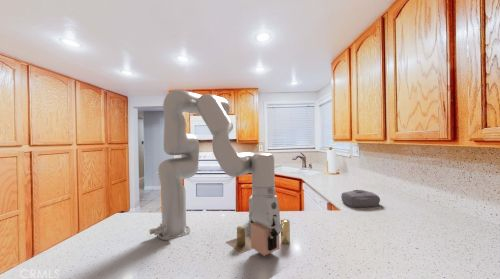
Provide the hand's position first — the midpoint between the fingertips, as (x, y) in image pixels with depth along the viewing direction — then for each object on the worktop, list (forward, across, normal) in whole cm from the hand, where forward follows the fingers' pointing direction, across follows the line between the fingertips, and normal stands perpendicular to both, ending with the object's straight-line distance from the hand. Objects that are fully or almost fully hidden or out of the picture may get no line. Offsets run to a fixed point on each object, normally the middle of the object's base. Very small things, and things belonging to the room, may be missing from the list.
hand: (265, 244), depth 70 cm
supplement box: (+4, +23, -16) cm, 28 cm away
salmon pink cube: (+1, 0, 0) cm, 1 cm away
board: (+4, +10, -3) cm, 11 cm away
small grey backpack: (+5, +7, -80) cm, 80 cm away
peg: (+4, +1, -11) cm, 12 cm away
